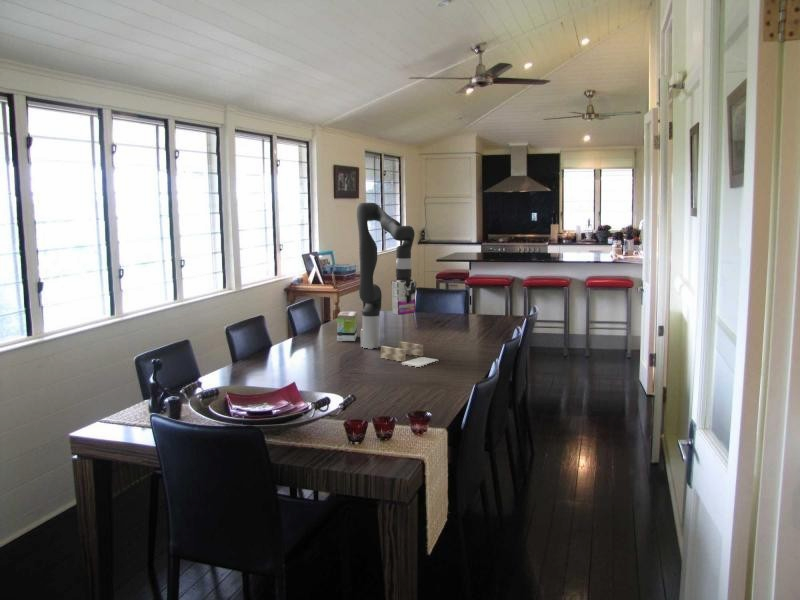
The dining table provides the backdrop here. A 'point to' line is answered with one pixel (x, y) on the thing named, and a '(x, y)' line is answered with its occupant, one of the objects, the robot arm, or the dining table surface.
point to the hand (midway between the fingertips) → (403, 302)
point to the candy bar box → (401, 298)
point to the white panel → (419, 361)
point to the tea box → (346, 326)
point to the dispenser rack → (401, 351)
